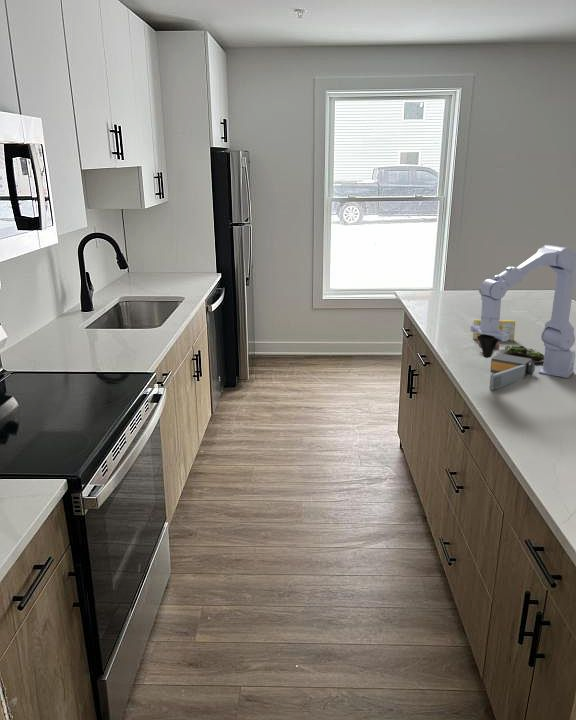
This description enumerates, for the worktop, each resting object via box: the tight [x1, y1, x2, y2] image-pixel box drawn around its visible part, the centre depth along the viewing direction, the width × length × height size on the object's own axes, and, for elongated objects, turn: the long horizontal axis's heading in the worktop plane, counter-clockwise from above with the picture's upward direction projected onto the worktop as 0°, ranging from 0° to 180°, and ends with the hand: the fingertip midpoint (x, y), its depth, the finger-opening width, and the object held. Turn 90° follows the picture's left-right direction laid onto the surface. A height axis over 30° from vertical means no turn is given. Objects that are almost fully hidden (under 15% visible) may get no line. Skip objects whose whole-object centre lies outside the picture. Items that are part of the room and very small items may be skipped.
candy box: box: [472, 319, 516, 342], centre depth 243 cm, size 16×2×8 cm, turn 74°
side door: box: [488, 364, 526, 391], centre depth 194 cm, size 17×2×5 cm, turn 124°
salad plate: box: [496, 344, 545, 366], centre depth 221 cm, size 19×18×5 cm
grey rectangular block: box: [490, 353, 536, 378], centre depth 205 cm, size 13×7×5 cm, turn 51°
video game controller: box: [477, 339, 500, 350], centre depth 230 cm, size 10×5×7 cm, turn 142°
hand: (487, 357), depth 194 cm, fingers closed
